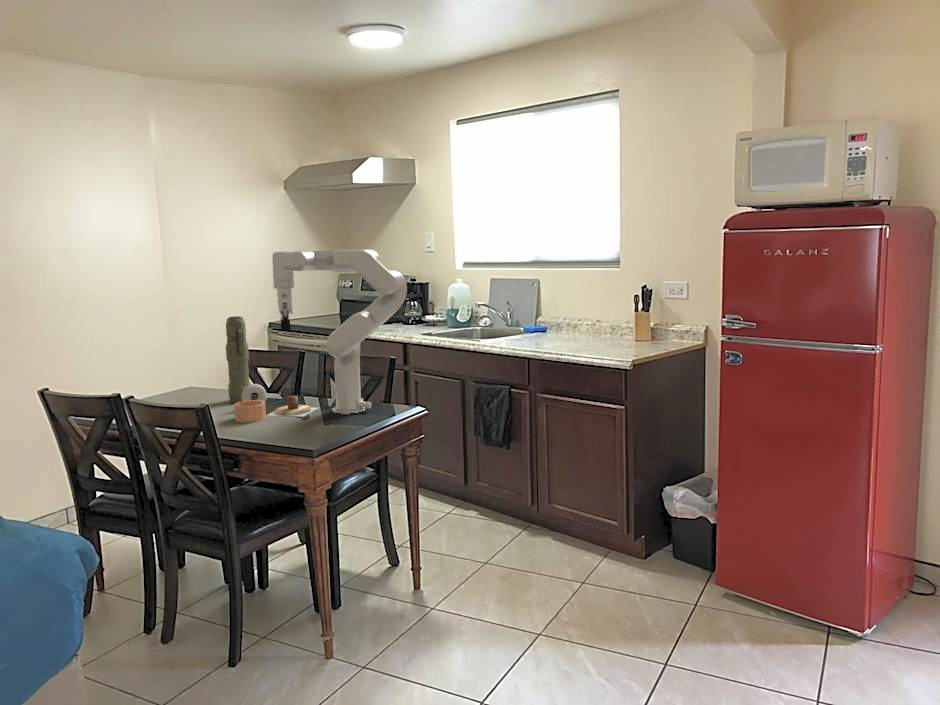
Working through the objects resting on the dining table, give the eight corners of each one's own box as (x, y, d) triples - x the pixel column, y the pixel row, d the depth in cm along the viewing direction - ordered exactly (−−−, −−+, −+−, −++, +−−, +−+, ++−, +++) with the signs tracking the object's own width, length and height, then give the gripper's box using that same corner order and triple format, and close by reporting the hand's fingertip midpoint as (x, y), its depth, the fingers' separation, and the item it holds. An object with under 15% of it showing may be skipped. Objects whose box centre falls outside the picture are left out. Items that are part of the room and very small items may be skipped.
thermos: (236, 404, 299) (231, 318, 294) (224, 400, 308) (218, 316, 303) (257, 401, 305) (251, 316, 300) (244, 397, 314) (239, 315, 309)
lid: (315, 408, 289) (315, 393, 288) (302, 415, 277) (301, 400, 276) (284, 407, 292) (284, 393, 291) (269, 414, 279) (269, 400, 278)
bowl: (271, 416, 278) (270, 400, 277) (257, 423, 267) (256, 407, 266) (244, 415, 280) (243, 399, 279) (229, 422, 269) (228, 406, 268)
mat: (319, 408, 290) (319, 407, 290) (303, 417, 275) (303, 416, 275) (283, 407, 293) (283, 406, 293) (266, 416, 278) (266, 415, 278)
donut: (243, 411, 287) (242, 386, 286) (240, 409, 290) (239, 384, 289) (268, 407, 293) (267, 382, 291) (265, 406, 296) (264, 381, 294)
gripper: (294, 285, 273) (296, 331, 276) (293, 283, 290) (294, 326, 292) (273, 285, 271) (275, 332, 274) (273, 283, 288) (275, 327, 290)
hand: (285, 329), depth 283 cm, fingers open, 9 cm apart
